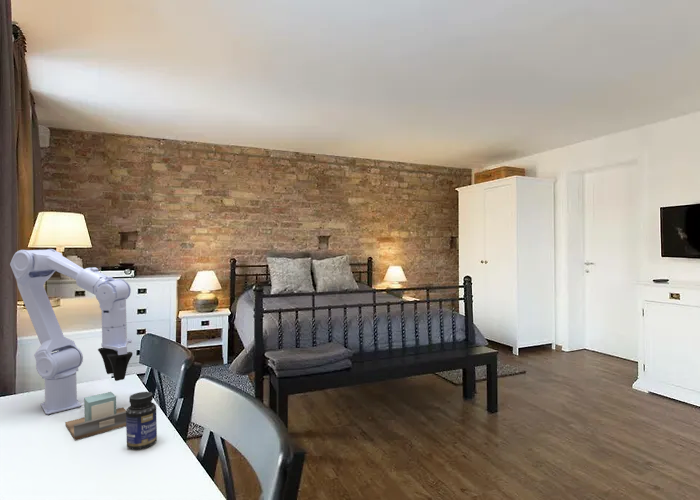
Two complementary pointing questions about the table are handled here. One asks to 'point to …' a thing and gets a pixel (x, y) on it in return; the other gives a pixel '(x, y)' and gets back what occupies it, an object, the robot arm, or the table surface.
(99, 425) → the shelf board
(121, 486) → the table surface
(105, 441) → the table surface
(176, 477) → the table surface
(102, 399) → the carton
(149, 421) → the pill bottle
